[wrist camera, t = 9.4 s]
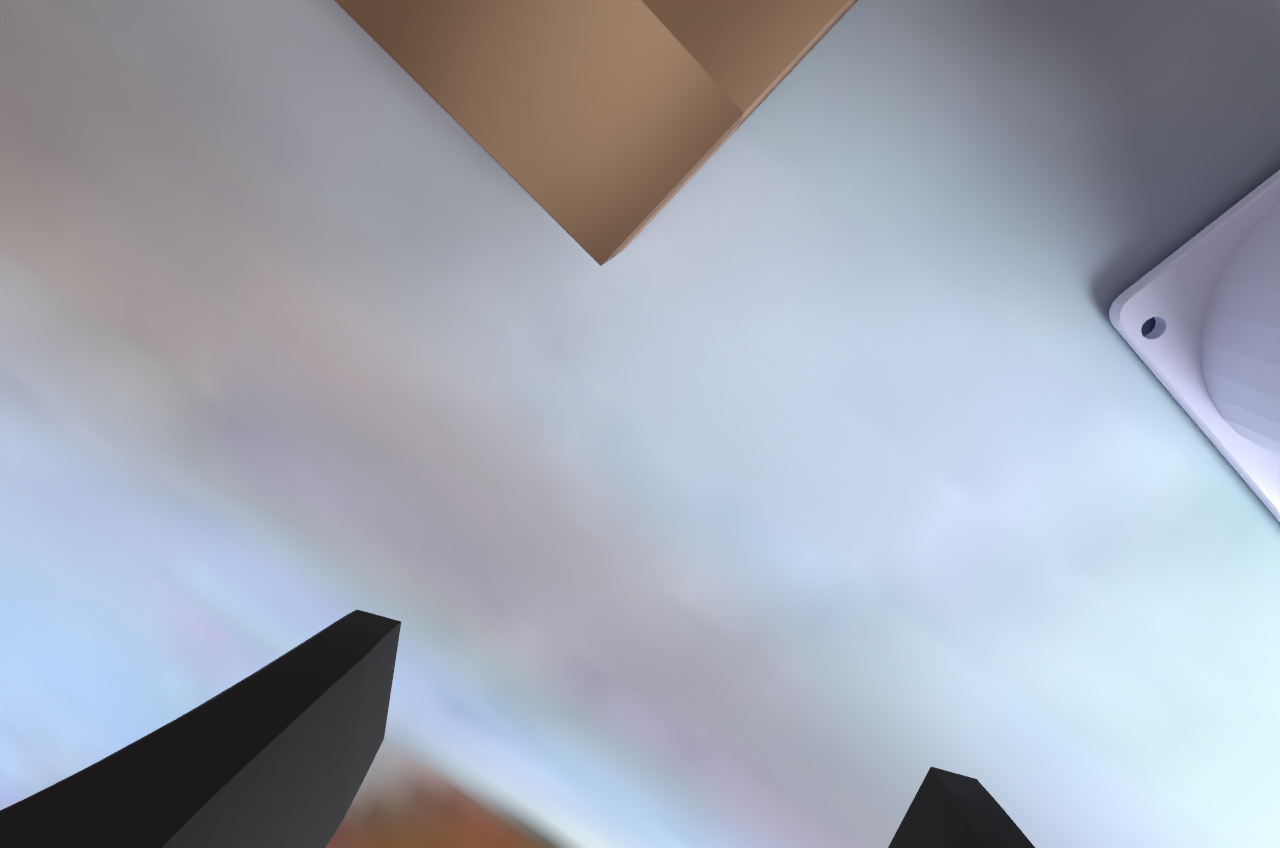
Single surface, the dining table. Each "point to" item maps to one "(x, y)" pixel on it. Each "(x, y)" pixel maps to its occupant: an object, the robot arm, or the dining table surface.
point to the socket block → (599, 89)
